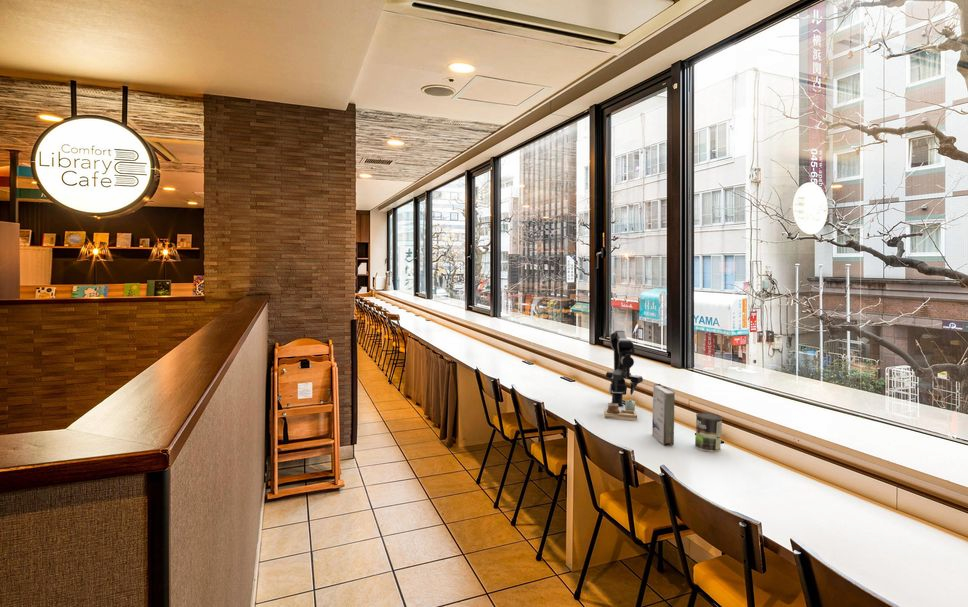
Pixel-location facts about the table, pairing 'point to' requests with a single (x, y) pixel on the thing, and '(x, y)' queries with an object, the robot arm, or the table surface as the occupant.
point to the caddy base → (621, 415)
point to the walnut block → (613, 408)
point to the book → (663, 414)
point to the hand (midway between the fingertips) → (623, 392)
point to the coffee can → (708, 432)
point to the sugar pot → (630, 405)
